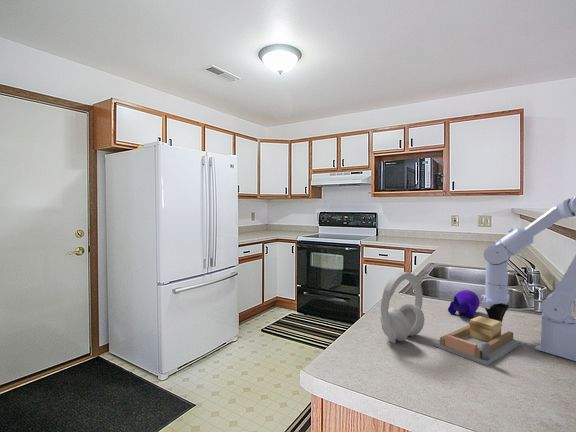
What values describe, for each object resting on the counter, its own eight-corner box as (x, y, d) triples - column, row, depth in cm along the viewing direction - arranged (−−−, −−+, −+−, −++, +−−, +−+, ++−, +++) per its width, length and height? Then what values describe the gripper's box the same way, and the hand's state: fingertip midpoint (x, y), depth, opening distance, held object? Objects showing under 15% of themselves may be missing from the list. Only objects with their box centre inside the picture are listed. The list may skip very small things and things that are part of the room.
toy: (469, 325, 110) (483, 311, 120) (468, 298, 109) (482, 286, 119) (443, 318, 116) (459, 305, 126) (442, 293, 115) (458, 282, 125)
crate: (501, 338, 93) (502, 321, 93) (492, 343, 89) (492, 326, 89) (479, 331, 98) (479, 315, 98) (469, 336, 94) (469, 319, 94)
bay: (520, 344, 91) (520, 327, 91) (487, 365, 79) (487, 345, 79) (469, 329, 103) (469, 314, 102) (433, 345, 90) (433, 328, 90)
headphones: (395, 351, 87) (396, 279, 87) (371, 341, 94) (371, 274, 93) (431, 334, 99) (432, 270, 98) (407, 326, 105) (408, 266, 105)
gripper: (492, 278, 105) (491, 318, 105) (471, 284, 96) (470, 328, 97) (517, 282, 99) (516, 325, 99) (497, 289, 91) (496, 335, 91)
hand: (495, 327), depth 98 cm, fingers closed
